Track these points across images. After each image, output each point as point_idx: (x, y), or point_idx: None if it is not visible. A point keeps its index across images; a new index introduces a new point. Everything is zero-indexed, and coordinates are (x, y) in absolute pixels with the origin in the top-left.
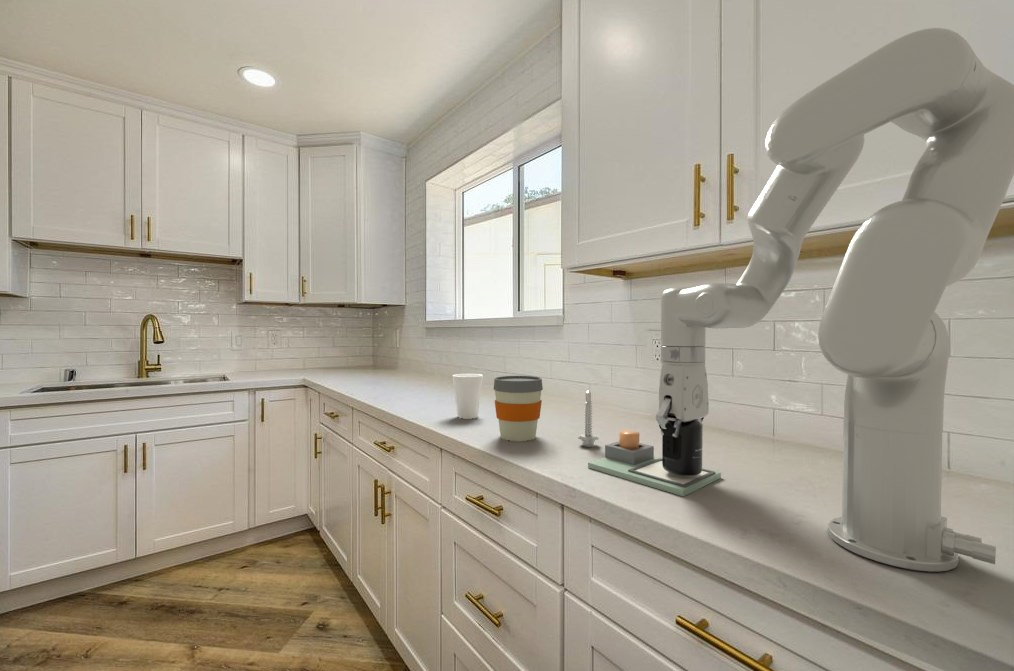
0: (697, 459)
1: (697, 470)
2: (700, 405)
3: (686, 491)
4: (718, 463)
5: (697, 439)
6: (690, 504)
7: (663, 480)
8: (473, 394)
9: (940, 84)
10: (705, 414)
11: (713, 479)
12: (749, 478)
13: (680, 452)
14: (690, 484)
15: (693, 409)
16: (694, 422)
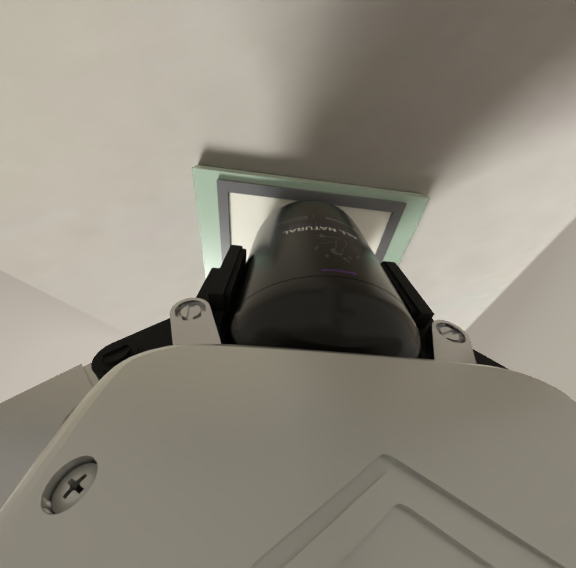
0: (338, 219)
1: (332, 205)
2: (315, 491)
3: (409, 194)
4: (79, 217)
5: (359, 257)
6: (475, 156)
7: (382, 260)
8: None
9: None
10: (201, 355)
11: (248, 172)
12: (111, 73)
13: (394, 271)
14: (376, 199)
15: (476, 460)
16: (367, 338)
